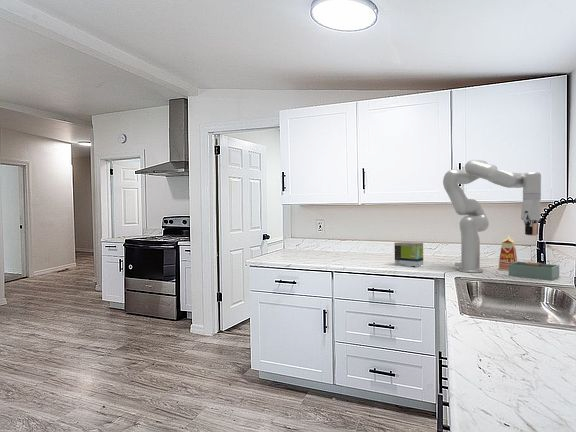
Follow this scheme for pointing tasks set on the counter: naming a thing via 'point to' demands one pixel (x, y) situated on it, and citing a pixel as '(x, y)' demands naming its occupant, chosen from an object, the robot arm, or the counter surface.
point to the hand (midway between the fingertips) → (531, 233)
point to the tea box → (409, 253)
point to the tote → (534, 271)
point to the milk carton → (507, 254)
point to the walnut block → (533, 264)
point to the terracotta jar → (534, 229)
